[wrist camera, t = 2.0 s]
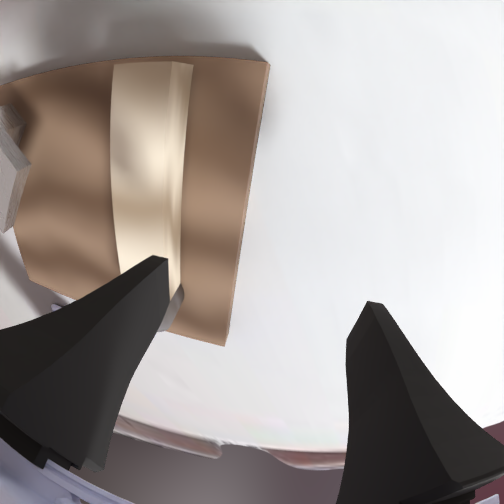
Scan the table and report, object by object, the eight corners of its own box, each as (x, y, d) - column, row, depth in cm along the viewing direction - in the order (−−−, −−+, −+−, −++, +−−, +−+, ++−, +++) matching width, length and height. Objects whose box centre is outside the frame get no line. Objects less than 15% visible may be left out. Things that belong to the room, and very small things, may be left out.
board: (228, 333, 23) (224, 346, 22) (37, 272, 25) (29, 280, 23) (270, 65, 12) (267, 62, 11) (10, 83, 14) (-3, 86, 12)
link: (184, 312, 20) (167, 348, 17) (141, 300, 20) (120, 332, 18) (199, 64, 11) (168, 59, 8) (136, 65, 12) (95, 65, 9)
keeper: (68, 147, 15) (17, 171, 11) (43, 204, 18) (3, 233, 14) (17, 87, 13) (-31, 100, 9) (-2, 145, 15) (-42, 165, 11)
